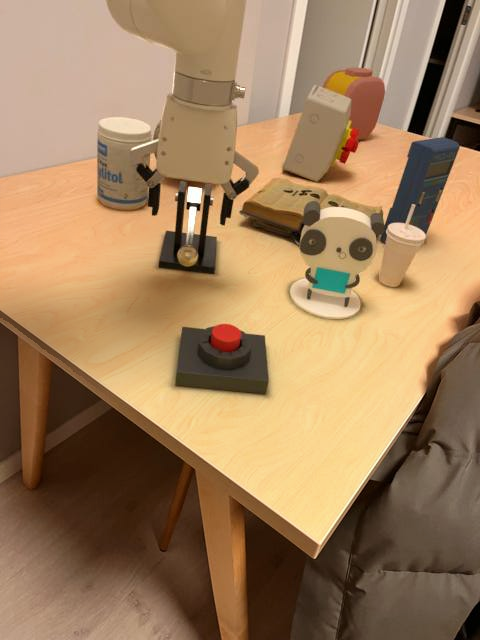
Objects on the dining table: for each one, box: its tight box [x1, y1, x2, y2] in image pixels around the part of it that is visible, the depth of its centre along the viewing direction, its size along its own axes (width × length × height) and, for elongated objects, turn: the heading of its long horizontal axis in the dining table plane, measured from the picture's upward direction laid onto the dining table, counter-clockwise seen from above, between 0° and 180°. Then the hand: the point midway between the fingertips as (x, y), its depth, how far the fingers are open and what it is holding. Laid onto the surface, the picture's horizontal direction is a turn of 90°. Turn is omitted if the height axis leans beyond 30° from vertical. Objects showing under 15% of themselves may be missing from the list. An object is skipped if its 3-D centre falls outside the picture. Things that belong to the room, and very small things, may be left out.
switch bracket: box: [158, 180, 218, 275], centre depth 86 cm, size 11×9×12 cm
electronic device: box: [380, 136, 461, 244], centre depth 101 cm, size 10×5×20 cm, turn 129°
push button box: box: [174, 325, 270, 395], centre depth 66 cm, size 11×9×4 cm
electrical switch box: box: [281, 84, 360, 183], centre depth 128 cm, size 15×15×20 cm
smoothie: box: [378, 204, 427, 288], centre depth 88 cm, size 6×6×14 cm
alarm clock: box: [322, 67, 386, 141], centre depth 158 cm, size 18×11×19 cm, turn 130°
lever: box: [177, 186, 203, 266], centre depth 82 cm, size 13×3×3 cm
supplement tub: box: [96, 116, 152, 211], centre depth 99 cm, size 10×10×15 cm
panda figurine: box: [289, 201, 385, 320], centre depth 80 cm, size 12×11×15 cm
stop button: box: [211, 323, 242, 352], centre depth 65 cm, size 4×4×2 cm
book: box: [238, 177, 384, 246], centre depth 103 cm, size 25×17×6 cm
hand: (189, 216), depth 75 cm, fingers open, 9 cm apart
